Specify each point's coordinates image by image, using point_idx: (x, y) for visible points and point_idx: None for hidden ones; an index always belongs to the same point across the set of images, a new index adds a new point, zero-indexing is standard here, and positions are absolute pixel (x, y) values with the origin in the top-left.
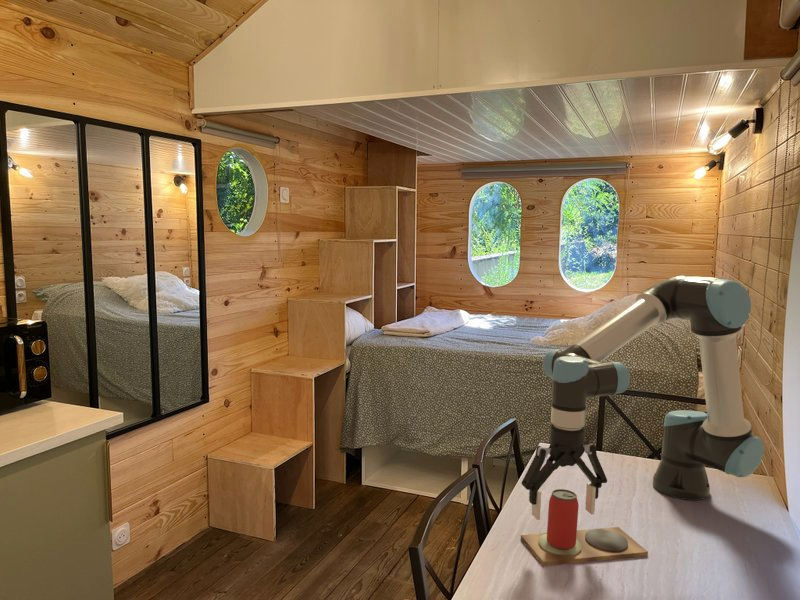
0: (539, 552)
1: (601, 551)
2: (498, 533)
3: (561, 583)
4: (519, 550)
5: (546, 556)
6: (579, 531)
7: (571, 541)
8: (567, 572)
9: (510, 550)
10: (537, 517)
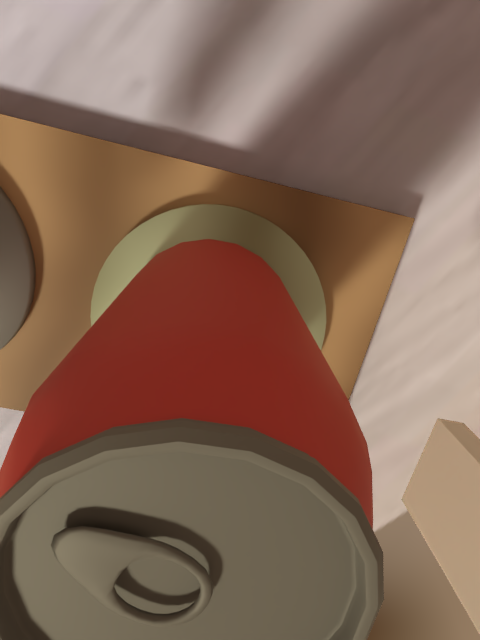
0: (363, 303)
1: (13, 173)
2: (375, 516)
3: (448, 24)
4: (397, 376)
5: (359, 256)
6: (6, 396)
7: (203, 245)
8: (333, 108)
9: (434, 390)
10: (472, 434)
